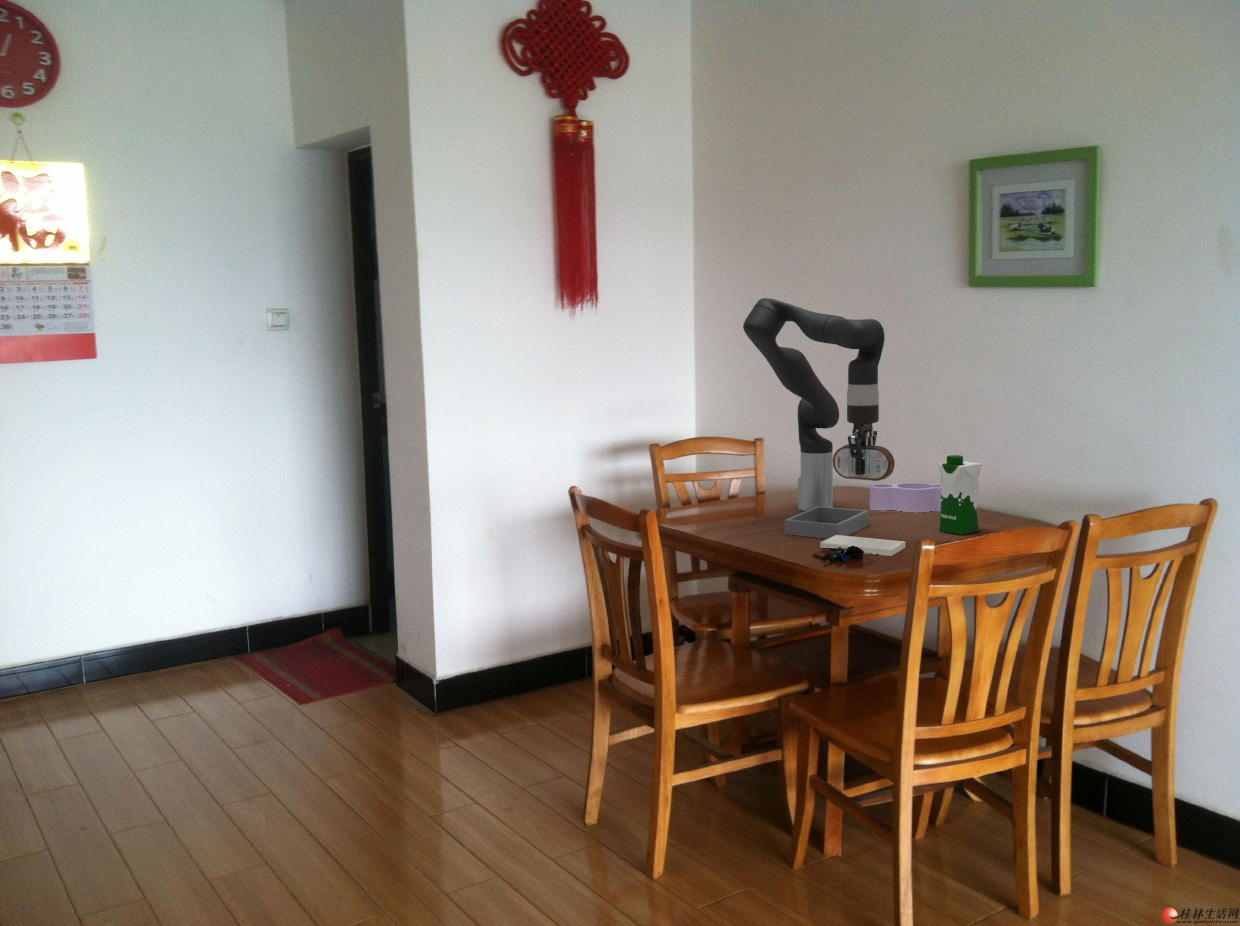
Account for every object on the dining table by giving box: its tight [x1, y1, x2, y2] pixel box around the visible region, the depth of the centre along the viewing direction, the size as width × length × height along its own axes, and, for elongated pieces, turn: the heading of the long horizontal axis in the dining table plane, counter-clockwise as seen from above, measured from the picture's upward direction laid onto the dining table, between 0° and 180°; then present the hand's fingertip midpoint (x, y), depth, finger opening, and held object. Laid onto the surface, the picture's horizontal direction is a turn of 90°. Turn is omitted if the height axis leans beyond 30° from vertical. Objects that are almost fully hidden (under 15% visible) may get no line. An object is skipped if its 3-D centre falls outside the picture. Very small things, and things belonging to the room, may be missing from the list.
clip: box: [869, 481, 941, 514], centre depth 310 cm, size 20×12×7 cm, turn 79°
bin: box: [784, 506, 870, 540], centre depth 284 cm, size 15×21×4 cm
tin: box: [833, 443, 895, 482], centre depth 259 cm, size 15×3×8 cm, turn 56°
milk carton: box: [938, 454, 982, 536], centre depth 276 cm, size 9×9×20 cm
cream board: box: [819, 535, 906, 557], centre depth 262 cm, size 18×10×2 cm, turn 56°
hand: (862, 473), depth 260 cm, fingers closed on tin, 2 cm apart
